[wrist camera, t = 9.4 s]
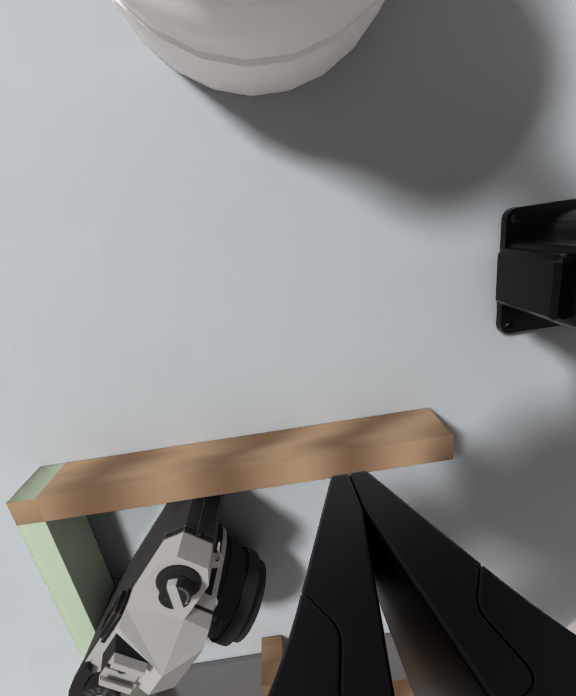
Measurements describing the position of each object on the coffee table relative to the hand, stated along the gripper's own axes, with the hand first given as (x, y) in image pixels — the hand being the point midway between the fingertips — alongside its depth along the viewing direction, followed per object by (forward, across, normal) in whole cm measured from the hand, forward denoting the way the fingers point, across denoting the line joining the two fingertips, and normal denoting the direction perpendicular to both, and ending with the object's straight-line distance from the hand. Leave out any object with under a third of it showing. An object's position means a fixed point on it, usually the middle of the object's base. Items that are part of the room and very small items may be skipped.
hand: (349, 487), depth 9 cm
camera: (+12, +9, +13) cm, 20 cm away
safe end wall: (+12, +16, +18) cm, 27 cm away
